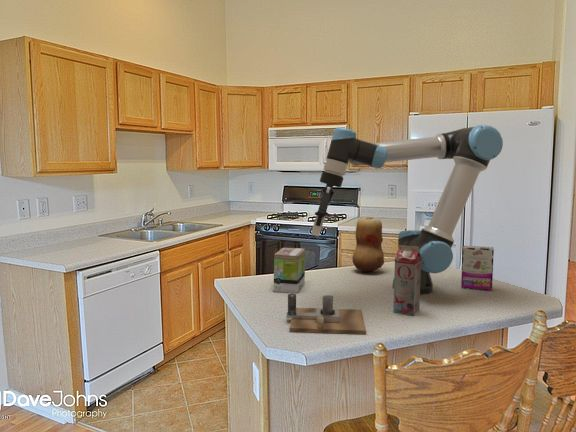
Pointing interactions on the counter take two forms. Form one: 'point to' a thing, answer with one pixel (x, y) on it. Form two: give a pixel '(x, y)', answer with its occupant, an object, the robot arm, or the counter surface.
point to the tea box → (289, 270)
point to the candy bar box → (477, 267)
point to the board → (348, 322)
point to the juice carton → (407, 280)
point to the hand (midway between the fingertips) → (315, 233)
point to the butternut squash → (368, 245)
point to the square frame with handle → (302, 315)
